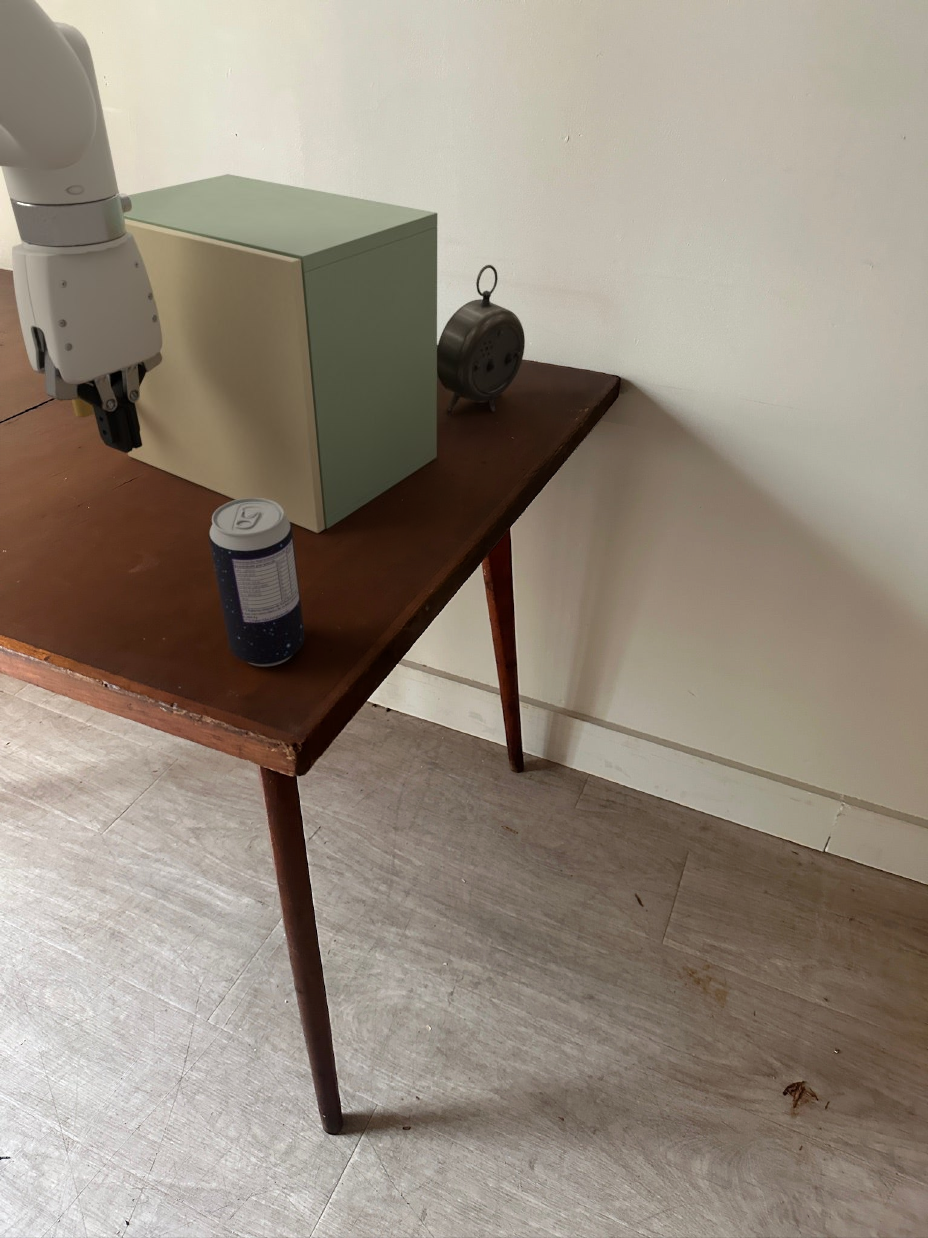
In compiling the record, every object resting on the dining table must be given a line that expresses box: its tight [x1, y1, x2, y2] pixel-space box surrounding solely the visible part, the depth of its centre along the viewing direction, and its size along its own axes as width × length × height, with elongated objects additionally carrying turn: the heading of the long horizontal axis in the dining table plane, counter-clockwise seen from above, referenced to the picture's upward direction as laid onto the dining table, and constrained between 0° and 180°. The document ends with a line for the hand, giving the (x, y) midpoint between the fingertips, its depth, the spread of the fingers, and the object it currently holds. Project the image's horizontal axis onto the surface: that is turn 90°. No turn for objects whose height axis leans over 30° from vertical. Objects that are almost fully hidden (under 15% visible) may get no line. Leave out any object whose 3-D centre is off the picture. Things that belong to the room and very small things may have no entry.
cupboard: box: [123, 173, 438, 530], centre depth 85 cm, size 18×26×24 cm
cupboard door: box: [71, 218, 326, 534], centre depth 77 cm, size 7×26×24 cm, turn 56°
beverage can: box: [208, 498, 305, 668], centre depth 63 cm, size 6×6×12 cm
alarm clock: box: [437, 264, 526, 414], centre depth 99 cm, size 11×5×16 cm, turn 134°
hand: (123, 445), depth 76 cm, fingers closed
